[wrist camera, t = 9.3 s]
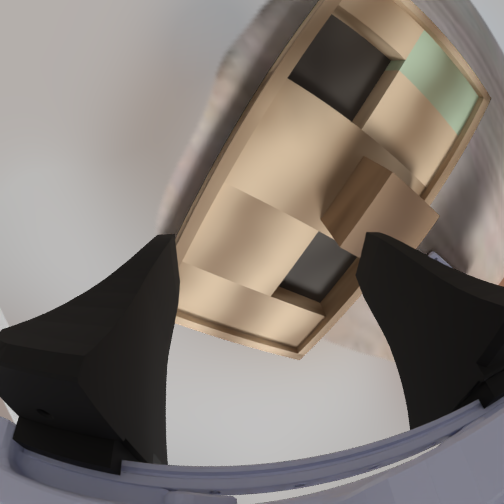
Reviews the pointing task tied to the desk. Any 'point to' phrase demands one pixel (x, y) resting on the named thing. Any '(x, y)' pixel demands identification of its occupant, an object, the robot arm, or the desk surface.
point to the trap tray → (319, 169)
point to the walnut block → (377, 209)
